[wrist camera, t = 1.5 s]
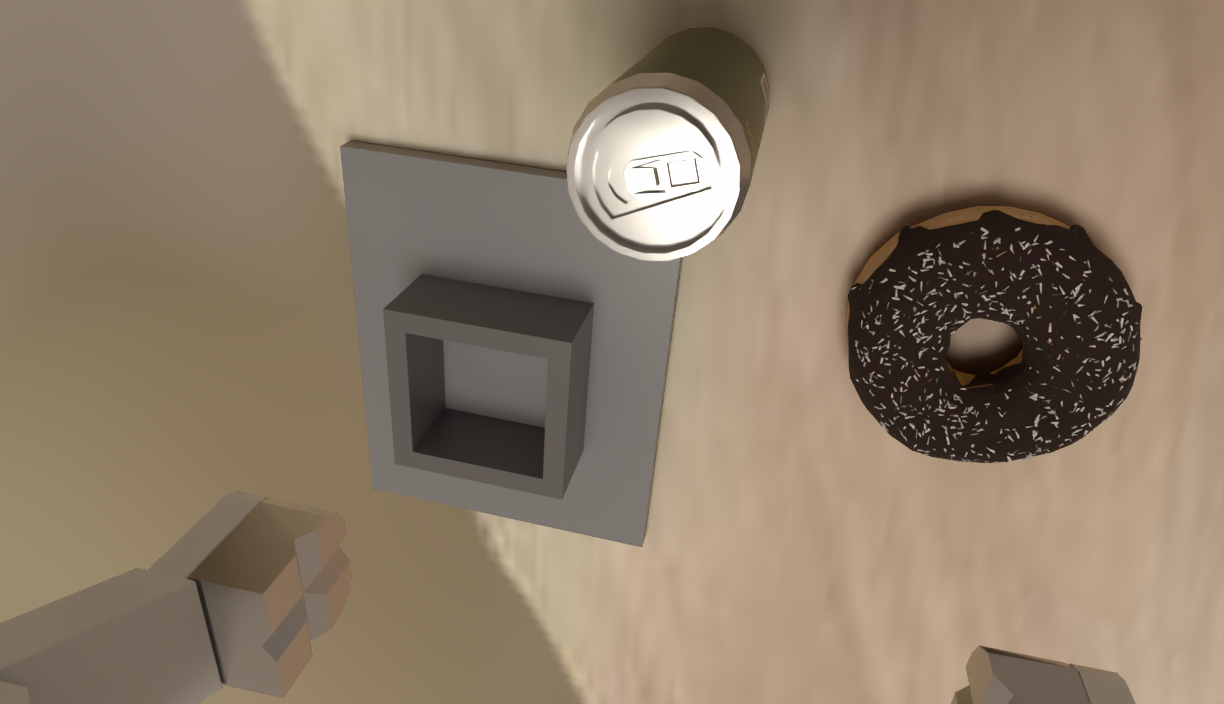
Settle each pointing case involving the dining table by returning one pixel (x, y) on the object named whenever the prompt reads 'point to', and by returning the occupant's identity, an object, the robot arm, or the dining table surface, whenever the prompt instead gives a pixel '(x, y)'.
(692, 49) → the beer can
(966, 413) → the donut
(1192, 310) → the dining table surface
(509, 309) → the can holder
